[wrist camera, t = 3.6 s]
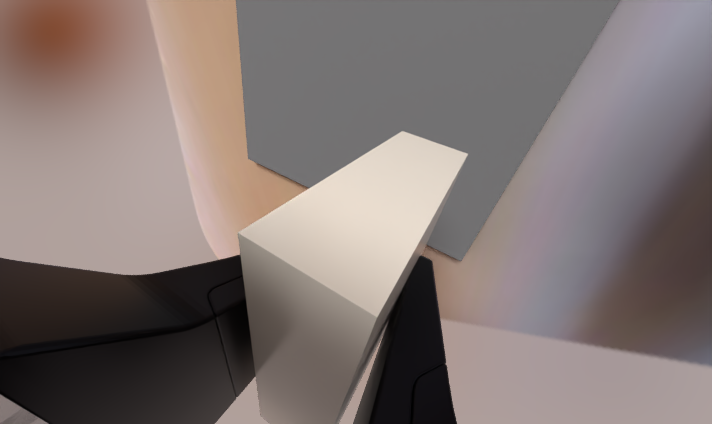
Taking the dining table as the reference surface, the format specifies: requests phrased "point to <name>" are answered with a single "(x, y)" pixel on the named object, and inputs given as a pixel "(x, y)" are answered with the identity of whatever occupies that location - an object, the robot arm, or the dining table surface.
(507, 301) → the dining table surface
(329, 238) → the block
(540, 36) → the mat
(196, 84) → the dining table surface
